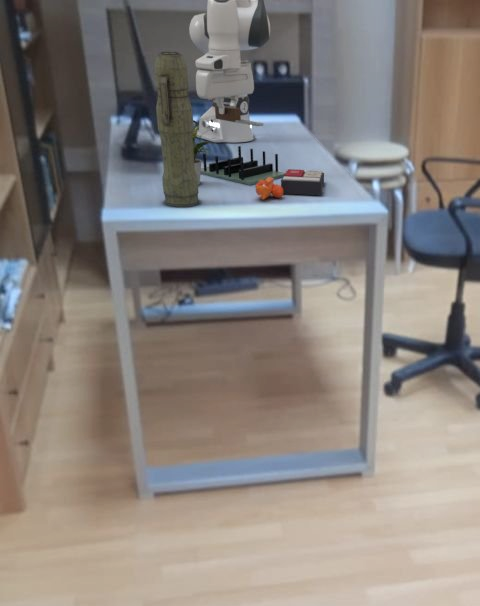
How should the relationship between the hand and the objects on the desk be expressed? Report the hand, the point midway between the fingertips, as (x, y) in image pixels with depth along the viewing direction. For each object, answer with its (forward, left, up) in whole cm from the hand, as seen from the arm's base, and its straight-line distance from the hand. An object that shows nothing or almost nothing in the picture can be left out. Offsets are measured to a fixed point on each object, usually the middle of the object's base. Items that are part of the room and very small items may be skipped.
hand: (227, 113), depth 228 cm
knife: (+4, 0, -2) cm, 5 cm away
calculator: (+30, -1, -16) cm, 34 cm away
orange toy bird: (+30, -15, -16) cm, 37 cm away
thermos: (+17, -35, -16) cm, 42 cm away
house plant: (+4, -21, -16) cm, 27 cm away
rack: (+6, -1, -16) cm, 17 cm away
